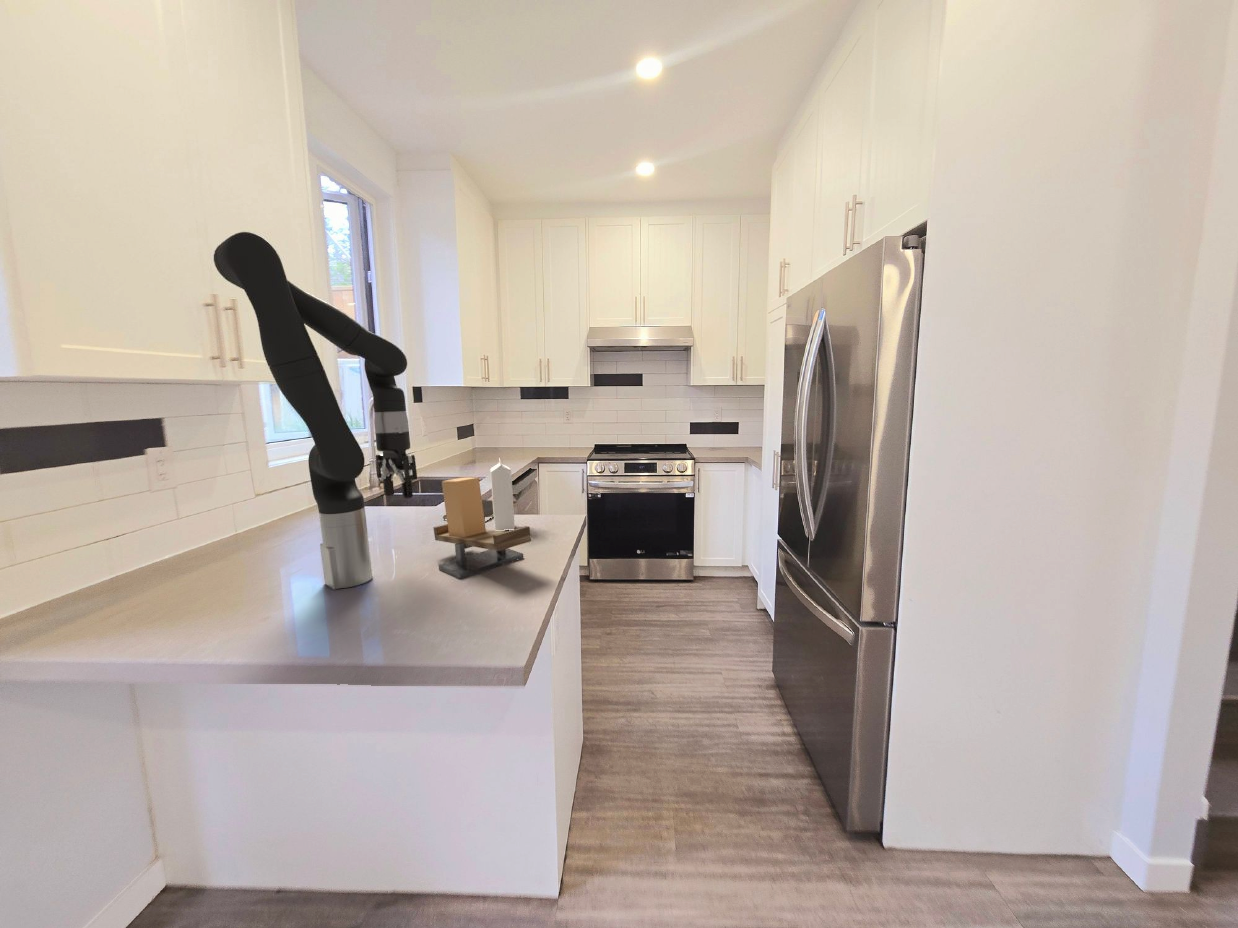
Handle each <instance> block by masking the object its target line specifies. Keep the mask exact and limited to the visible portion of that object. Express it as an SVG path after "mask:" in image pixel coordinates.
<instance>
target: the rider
mask: <svg viewBox="0 0 1238 928" xmlns="http://www.w3.org/2000/svg"><path fill="white" fill-rule="evenodd" d="M441 485H442V486H441V488H442V494H443V500H444V508H445V515H446V516H447V520H446V521H447V523H446V524H448V531H449V535H454V536H461V537H467V536H471V535H475V534H478V533H482V532H486V530H487V529H486V522H485V520H484V513H483V506H482V500H483V499H482V493H481V484H480V478H479V477H459V478H453V479H448V480H447V479H446V480H443V481H441Z"/></svg>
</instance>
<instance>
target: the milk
mask: <svg viewBox="0 0 1238 928" xmlns="http://www.w3.org/2000/svg"><path fill="white" fill-rule="evenodd" d="M498 460H499V461H498V463H497V464H495V465H494V466H492V467H491V468H490V470H489V472H490V483H491V497H492V499H491V500H493V514H494V518H493V526H494V531H495V530H504V529H514V528H515V529H516V526H515V513H514V512H515V511H514V510H515V509H514V508H515V507H514V508H513V501H514V495H513V481H512V479H513V478H512V469H511V468H510V467H509V466H507V465H506V464H503V463H502V462H501V459H500V457H499V458H498Z"/></svg>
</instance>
